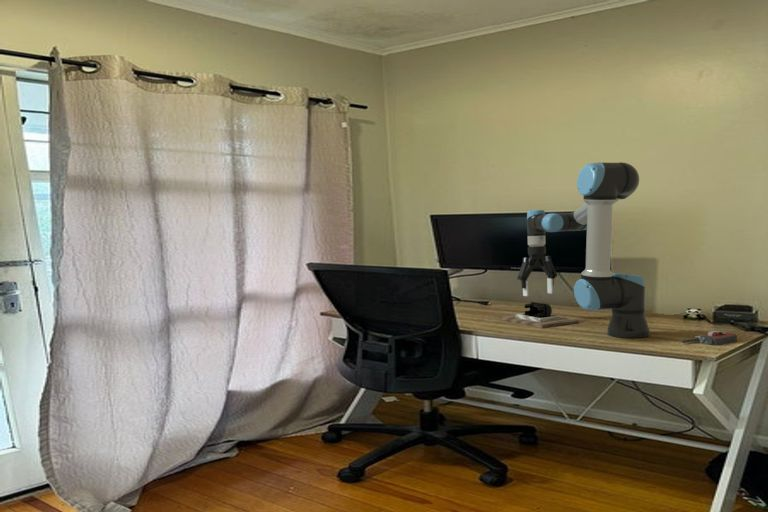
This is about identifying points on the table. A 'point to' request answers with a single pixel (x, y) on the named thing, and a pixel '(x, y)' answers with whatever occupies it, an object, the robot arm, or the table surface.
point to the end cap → (538, 310)
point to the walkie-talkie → (714, 338)
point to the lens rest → (539, 320)
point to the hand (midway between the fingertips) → (538, 294)
